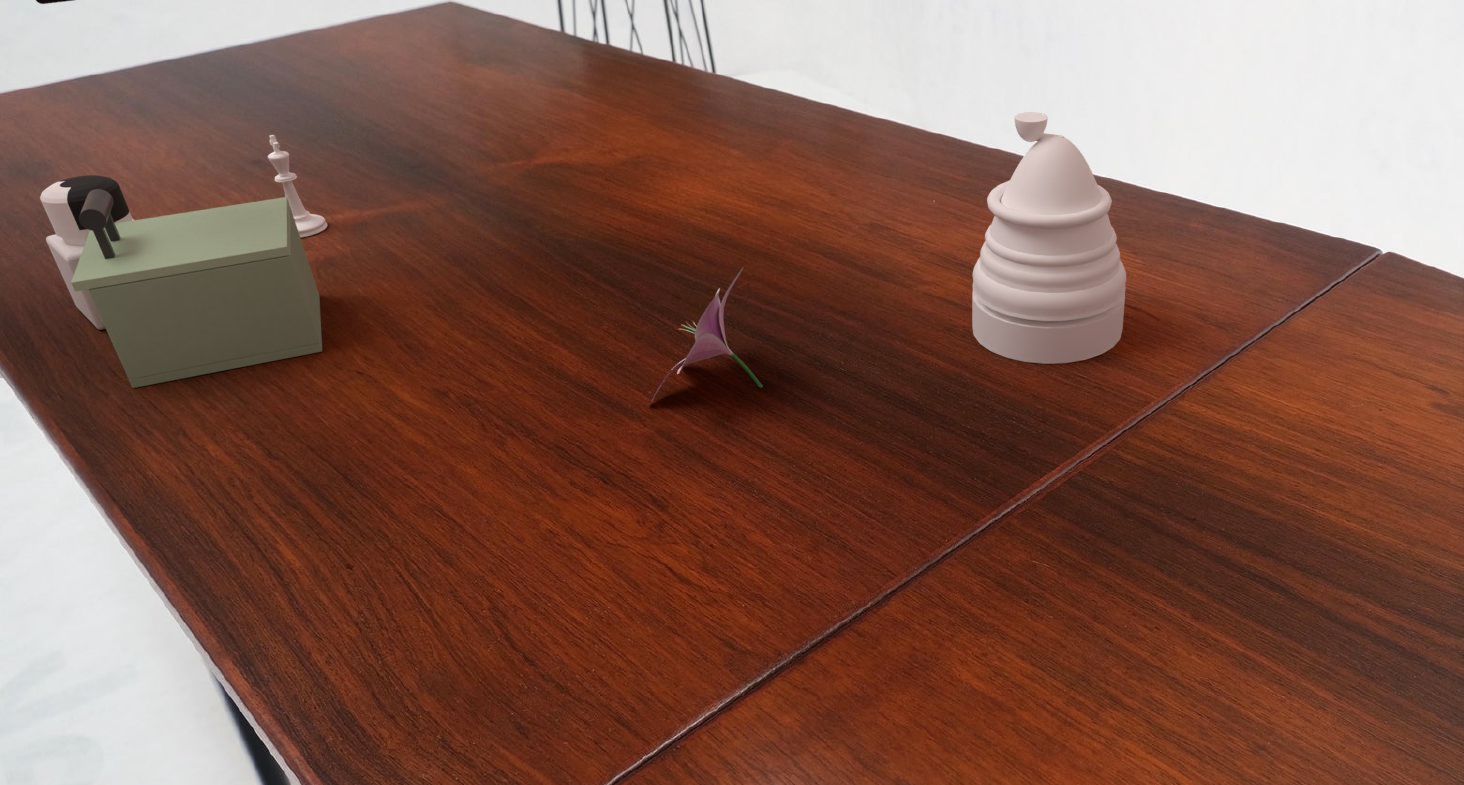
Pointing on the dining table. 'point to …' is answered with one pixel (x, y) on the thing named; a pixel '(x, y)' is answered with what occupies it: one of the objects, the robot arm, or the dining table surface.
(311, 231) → the chess piece
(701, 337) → the lily
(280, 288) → the green box
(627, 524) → the dining table surface
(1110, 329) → the honey pot
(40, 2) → the robot arm
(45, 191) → the medicine bottle
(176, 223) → the box lid
